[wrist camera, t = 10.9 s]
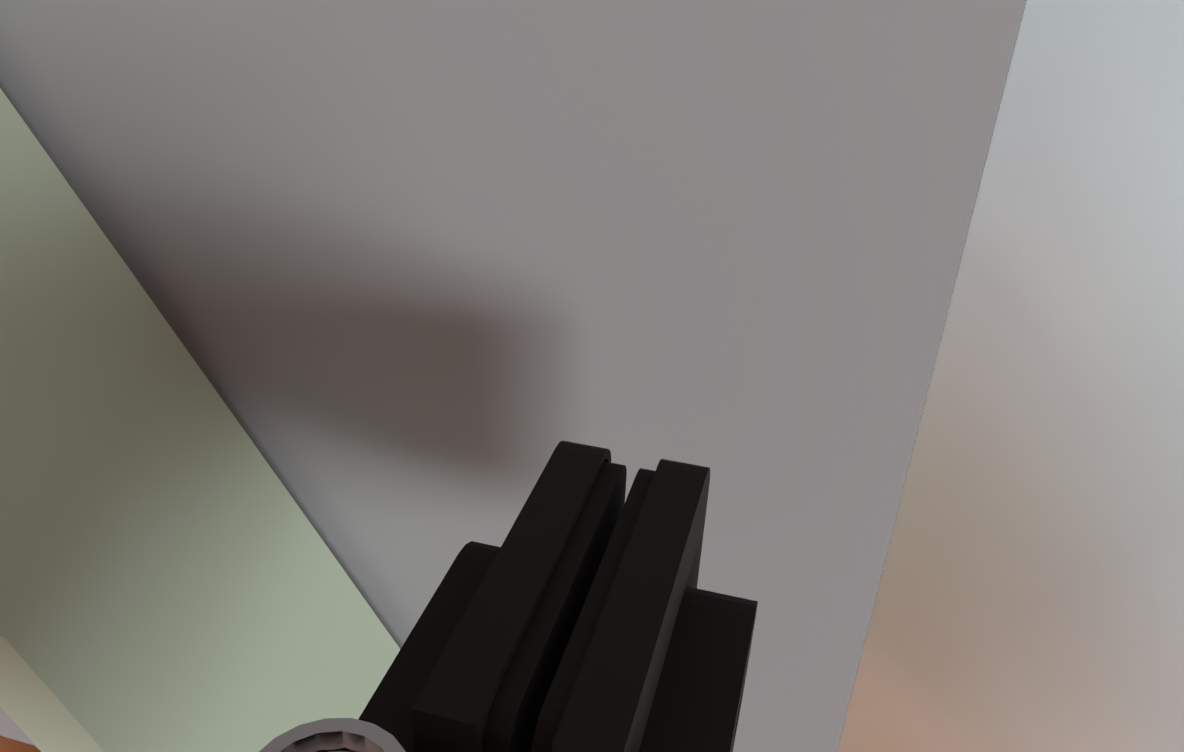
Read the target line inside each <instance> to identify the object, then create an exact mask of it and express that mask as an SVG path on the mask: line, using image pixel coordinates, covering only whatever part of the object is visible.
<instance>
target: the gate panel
mask: <svg viewBox="0 0 1184 752" xmlns="http://www.w3.org/2000/svg"><path fill="white" fill-rule="evenodd" d="M399 651H400V648H399V647H398V645H397V644H396V642H395V641H394V640H393V638H392V637H391V635H390V634H389V633H388V631H387V630H386V628H385V627H384V626H383V624H382V623H381V621H380V620H379V619H378V617H377V616H376V614H375V613H374V612H373V610H372V609H371V607H370V606H369V605H368V603H367V602H366V600H365V599H364V598H363V596H362V595H361V593H360V592H359V591H358V589H357V588H356V586H355V585H354V583H353V582H352V581H351V579H350V578H349V576H348V575H347V574H346V572H345V571H344V569H343V568H342V567H341V565H340V564H339V562H338V561H337V560H336V558H335V557H334V555H333V554H332V553H331V551H330V550H329V548H328V547H327V546H326V544H325V543H324V541H323V540H322V539H321V537H320V536H319V534H318V533H317V532H316V530H315V529H314V527H313V526H312V525H311V523H310V522H309V520H308V519H307V518H306V516H305V515H304V513H303V512H302V511H301V509H300V508H299V506H298V505H297V504H296V502H295V501H294V499H293V498H292V497H291V495H290V494H289V492H288V491H287V490H286V488H285V487H284V485H283V484H282V482H281V481H280V480H279V478H278V477H277V475H276V474H275V473H274V471H273V470H272V468H271V467H270V466H269V464H268V463H267V461H266V460H265V459H264V457H263V456H262V454H261V453H260V452H259V450H258V449H257V447H256V446H255V445H254V443H253V442H252V440H251V439H250V438H249V436H248V435H247V433H246V432H245V431H244V429H243V428H242V426H241V425H240V424H239V422H238V421H237V419H236V418H235V417H234V415H233V414H232V412H231V411H230V410H229V408H228V407H227V405H226V404H225V403H224V401H223V400H222V398H221V397H220V396H219V394H218V393H217V391H216V390H215V389H214V387H213V386H212V384H211V383H210V381H209V380H208V379H207V377H206V376H205V374H204V373H203V372H202V370H201V369H200V367H199V366H198V365H197V363H196V362H195V360H194V359H193V358H192V356H191V355H190V353H189V352H188V351H187V349H186V348H185V346H184V345H183V344H182V342H181V341H180V339H179V338H178V337H177V335H176V334H175V332H174V331H173V330H172V328H171V327H170V325H169V324H168V323H167V321H166V320H165V318H164V317H163V316H162V314H161V313H160V311H159V310H158V309H157V307H156V306H155V304H154V303H153V302H152V300H151V299H150V297H149V296H148V295H147V293H146V292H145V290H144V289H143V288H142V286H141V285H140V283H139V282H138V280H137V279H136V278H135V276H134V275H133V273H132V272H131V271H130V269H129V268H128V266H127V265H126V264H125V262H124V261H123V259H122V258H121V257H120V255H119V254H118V252H117V251H116V250H115V248H114V247H113V245H112V244H111V243H110V241H109V240H108V238H107V237H106V236H105V234H104V233H103V231H102V230H101V229H100V227H99V226H98V224H97V223H96V222H95V220H94V219H93V217H92V216H91V215H90V213H89V212H88V210H87V209H86V208H85V206H84V205H83V203H82V202H81V201H80V199H79V198H78V196H77V195H76V194H75V192H74V191H73V189H72V188H71V187H70V185H69V184H68V182H67V181H66V179H65V178H64V177H63V175H62V174H61V172H60V171H59V170H58V168H57V167H56V165H55V164H54V163H53V161H52V160H51V158H50V157H49V156H48V154H47V153H46V151H45V150H44V149H43V147H42V146H41V144H40V143H39V142H38V140H37V139H36V137H35V136H34V135H33V133H32V132H31V130H30V129H29V128H28V126H27V125H26V123H25V122H24V121H23V119H22V118H21V116H20V115H19V114H18V112H17V111H16V109H15V108H14V107H13V105H12V104H11V102H10V101H9V100H8V98H7V97H6V95H5V94H4V93H3V91H2V90H1V88H0V707H1V708H2V709H3V710H4V711H5V712H6V714H7V715H8V716H9V717H10V718H11V719H12V720H13V721H14V722H15V724H16V725H17V726H18V727H19V728H20V729H21V730H22V731H23V732H24V733H25V735H26V736H27V737H28V738H29V739H30V740H31V741H32V742H33V743H34V744H35V746H36V747H37V748H38V749H39V750H40V751H41V752H259V751H260V750H261V749H262V748H264V747H265V746H266V745H267V744H268V743H269V742H271V741H272V740H273V739H274V738H275V737H277V736H279V735H281V734H283V733H285V732H287V731H289V730H291V729H293V728H295V727H297V726H298V725H301V724H305V723H309V722H313V721H317V720H321V719H325V718H353V719H357V720H358V719H359V717H360V716H361V714H362V712H363V711H364V709H365V707H366V706H367V704H368V702H369V701H370V699H371V697H372V696H373V694H374V692H375V691H376V689H377V687H378V686H379V684H380V682H381V681H382V679H383V677H384V676H385V674H386V672H387V671H388V669H389V668H390V666H391V664H392V663H393V661H394V659H395V658H396V656H397V654H398V653H399Z"/></svg>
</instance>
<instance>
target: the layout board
mask: <svg viewBox="0 0 1184 752" xmlns="http://www.w3.org/2000/svg"><path fill="white" fill-rule="evenodd" d="M1026 1H1027V0H0V88H1V90H2V91H3V93H4V94H5V95H6V97H7V98H8V100H9V101H10V102H11V104H12V105H13V107H14V108H15V109H16V111H17V112H18V114H19V115H20V116H21V118H22V119H23V121H24V122H25V123H26V125H27V126H28V128H29V129H30V130H31V132H32V133H33V135H34V136H35V137H36V139H37V140H38V142H39V143H40V144H41V146H42V147H43V149H44V150H45V151H46V153H47V154H48V156H49V157H50V158H51V160H52V161H53V163H54V164H55V165H56V167H57V168H58V170H59V171H60V172H61V174H62V175H63V177H64V178H65V179H66V181H67V182H68V184H69V185H70V187H71V188H72V189H73V191H74V192H75V194H76V195H77V196H78V198H79V199H80V201H81V202H82V203H83V205H84V206H85V208H86V209H87V210H88V212H89V213H90V215H91V216H92V217H93V219H94V220H95V222H96V223H97V224H98V226H99V227H100V229H101V230H102V231H103V233H104V234H105V236H106V237H107V238H108V240H109V241H110V243H111V244H112V245H113V247H114V248H115V250H116V251H117V252H118V254H119V255H120V257H121V258H122V259H123V261H124V262H125V264H126V265H127V266H128V268H129V269H130V271H131V272H132V273H133V275H134V276H135V278H136V279H137V280H138V282H139V283H140V285H141V286H142V288H143V289H144V290H145V292H146V293H147V295H148V296H149V297H150V299H151V300H152V302H153V303H154V304H155V306H156V307H157V309H158V310H159V311H160V313H161V314H162V316H163V317H164V318H165V320H166V321H167V323H168V324H169V325H170V327H171V328H172V330H173V331H174V332H175V334H176V335H177V337H178V338H179V339H180V341H181V342H182V344H183V345H184V346H185V348H186V349H187V351H188V352H189V353H190V355H191V356H192V358H193V359H194V360H195V362H196V363H197V365H198V366H199V367H200V369H201V370H202V372H203V373H204V374H205V376H206V377H207V379H208V380H209V381H210V383H211V384H212V386H213V387H214V389H215V390H216V391H217V393H218V394H219V396H220V397H221V398H222V400H223V401H224V403H225V404H226V405H227V407H228V408H229V410H230V411H231V412H232V414H233V415H234V417H235V418H236V419H237V421H238V422H239V424H240V425H241V426H242V428H243V429H244V431H245V432H246V433H247V435H248V436H249V438H250V439H251V440H252V442H253V443H254V445H255V446H256V447H257V449H258V450H259V452H260V453H261V454H262V456H263V457H264V459H265V460H266V461H267V463H268V464H269V466H270V467H271V468H272V470H273V471H274V473H275V474H276V475H277V477H278V478H279V480H280V481H281V482H282V484H283V485H284V487H285V488H286V490H287V491H288V492H289V494H290V495H291V497H292V498H293V499H294V501H295V502H296V504H297V505H298V506H299V508H300V509H301V511H302V512H303V513H304V515H305V516H306V518H307V519H308V520H309V522H310V523H311V525H312V526H313V527H314V529H315V530H316V532H317V533H318V534H319V536H320V537H321V539H322V540H323V541H324V543H325V544H326V546H327V547H328V548H329V550H330V551H331V553H332V554H333V555H334V557H335V558H336V560H337V561H338V562H339V564H340V565H341V567H342V568H343V569H344V571H345V572H346V574H347V575H348V576H349V578H350V579H351V581H352V582H353V583H354V585H355V586H356V588H357V589H358V591H359V592H360V593H361V595H362V596H363V598H364V599H365V600H366V602H367V603H368V605H369V606H370V607H371V609H372V610H373V612H374V613H375V614H376V616H377V617H378V619H379V620H380V621H381V623H382V624H383V626H384V627H385V628H386V630H387V631H388V633H389V634H390V635H391V637H392V638H393V640H394V641H395V642H396V644H397V645H398V647H399V648H400V649H401V648H402V646H403V644H404V643H405V641H406V639H407V638H408V636H409V634H410V633H411V631H412V629H413V628H414V626H415V625H416V623H417V621H418V620H419V618H420V616H421V615H422V613H423V611H424V610H425V608H426V606H427V605H428V603H429V601H430V600H431V598H432V596H433V595H434V593H435V591H436V590H437V588H438V586H439V585H440V583H441V581H442V580H443V578H444V577H445V575H446V573H447V572H448V570H449V568H450V567H451V565H452V563H453V562H454V560H455V558H456V557H457V555H458V553H459V552H460V551H461V549H462V548H463V547H464V546H465V544H467V543H469V542H471V541H474V542H479V543H483V544H488V545H493V546H497V547H501V546H502V544H503V542H504V541H505V539H506V537H507V535H508V533H509V531H510V530H511V528H512V526H513V524H514V522H515V521H516V519H517V517H518V515H519V513H520V512H521V510H522V508H523V506H524V504H525V502H526V501H527V499H528V497H529V495H530V493H531V492H532V490H533V488H534V486H535V484H536V483H537V481H538V479H539V477H540V475H541V473H542V472H543V470H544V468H545V466H546V464H547V463H548V461H549V459H550V457H551V455H552V453H553V452H554V450H555V448H556V446H557V445H558V443H559V442H560V441H568V442H574V443H579V444H585V445H590V446H595V447H601V448H606V449H609V450H610V451H611V463H616V464H621V465H625V466H626V470H627V477H626V492H625V501H626V499H627V496H628V494H629V491H630V489H631V486H632V484H633V482H634V479H635V477H636V474H637V472H638V470H639V469H640V468H643V469H648V470H653V471H656V468H657V466H658V463H659V461H660V460H661V459H666V460H671V461H677V462H682V463H688V464H693V465H698V466H704V467H709V468H710V483H709V492H708V500H707V508H706V517H705V525H704V533H703V542H702V550H701V558H700V567H699V575H698V583H697V589H702V590H706V591H711V592H716V593H721V594H725V595H730V596H735V597H740V598H744V599H749V600H754V601H758V605H757V612H756V618H755V624H754V631H753V637H752V643H751V649H750V655H749V661H748V667H747V673H746V679H745V685H744V691H743V697H742V703H741V708H740V714H739V720H738V725H737V731H736V736H735V742H734V747H733V752H837V750H838V746H839V742H840V738H841V734H842V730H843V726H844V722H845V718H846V714H847V710H848V706H849V702H850V698H851V694H852V690H853V687H854V683H855V679H856V675H857V671H858V667H859V663H860V659H861V655H862V651H863V647H864V643H865V639H866V635H867V631H868V627H869V623H870V619H871V615H872V611H873V607H874V603H875V599H876V595H877V591H878V587H879V583H880V579H881V576H882V572H883V568H884V564H885V560H886V556H887V552H888V548H889V544H890V540H891V536H892V532H893V528H894V524H895V520H896V516H897V512H898V508H899V504H900V500H901V496H902V492H903V488H904V484H905V480H906V476H907V472H908V468H909V465H910V461H911V457H912V453H913V449H914V445H915V441H916V437H917V433H918V429H919V425H920V421H921V417H922V413H923V409H924V405H925V401H926V397H927V393H928V389H929V385H930V381H931V377H932V373H933V369H934V365H935V361H936V357H937V354H938V350H939V346H940V342H941V338H942V334H943V330H944V326H945V322H946V318H947V314H948V310H949V306H950V302H951V298H952V294H953V290H954V286H955V282H956V278H957V274H958V270H959V266H960V262H961V258H962V254H963V250H964V246H965V243H966V239H967V235H968V231H969V227H970V223H971V219H972V215H973V211H974V207H975V203H976V199H977V195H978V191H979V187H980V183H981V179H982V175H983V171H984V167H985V163H986V159H987V155H988V151H989V147H990V143H991V139H992V135H993V132H994V128H995V124H996V120H997V116H998V112H999V108H1000V104H1001V100H1002V96H1003V92H1004V88H1005V84H1006V80H1007V76H1008V72H1009V68H1010V64H1011V60H1012V56H1013V52H1014V48H1015V44H1016V40H1017V36H1018V32H1019V28H1020V24H1021V21H1022V17H1023V13H1024V9H1025V5H1026ZM0 735H1V736H4V737H8V738H11V739H14V740H18V741H21V742H25V743H28V744H31V745H35V744H34V743H33V742H32V741H31V740H30V739H29V738H28V737H27V736H26V735H25V733H24V732H23V731H22V730H21V729H20V728H19V727H18V726H17V725H16V724H15V722H14V721H13V720H12V719H11V718H10V717H9V716H8V715H7V714H6V712H5V711H4V710H3V709H2V708H1V707H0Z"/></svg>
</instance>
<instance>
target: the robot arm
mask: <svg viewBox="0 0 1184 752" xmlns="http://www.w3.org/2000/svg"><path fill="white" fill-rule="evenodd" d="M626 477H627V470H626V466H625V465H621V464H616V463H611V451H610V450H609V449H606V448H601V447H595V446H590V445H585V444H579V443H574V442H568V441H560V442H559V443H558V445H557V446H556V448H555V450H554V452H553V453H552V455H551V457H550V459H549V461H548V463H547V464H546V466H545V468H544V470H543V472H542V473H541V475H540V477H539V479H538V481H537V483H536V484H535V486H534V488H533V490H532V492H531V493H530V495H529V497H528V499H527V501H526V502H525V504H524V506H523V508H522V510H521V512H520V513H519V515H518V517H517V519H516V521H515V522H514V524H513V526H512V528H511V530H510V531H509V533H508V535H507V537H506V539H505V541H504V542H503V544H502V546H501V547H497V546H493V545H488V544H483V543H479V542H474V541H471V542H469V543H467V544H465V546H464V547H463V548H462V549H461V551H460V552H459V553H458V555H457V557H456V558H455V560H454V562H453V563H452V565H451V567H450V568H449V570H448V572H447V573H446V575H445V577H444V578H443V580H442V581H441V583H440V585H439V586H438V588H437V590H436V591H435V593H434V595H433V596H432V598H431V600H430V601H429V603H428V605H427V606H426V608H425V610H424V611H423V613H422V615H421V616H420V618H419V620H418V621H417V623H416V625H415V626H414V628H413V629H412V631H411V633H410V634H409V636H408V638H407V639H406V641H405V643H404V644H403V646H402V648H401V649H400V651H399V653H398V654H397V656H396V658H395V659H394V661H393V663H392V664H391V666H390V668H389V669H388V671H387V672H386V674H385V676H384V677H383V679H382V681H381V682H380V684H379V686H378V687H377V689H376V691H375V692H374V694H373V696H372V697H371V699H370V701H369V702H368V704H367V706H366V707H365V709H364V711H363V712H362V714H361V716H360V717H359V719H358V720H357V719H353V718H325V719H321V720H317V721H313V722H309V723H305V724H301V725H298V726H297V727H295V728H293V729H291V730H289V731H287V732H285V733H283V734H281V735H279V736H277V737H275V738H274V739H273V740H272V741H271V742H269V743H268V744H267V745H266V746H265V747H264V748H262V749H261V750H260V751H259V752H733V747H734V742H735V736H736V731H737V725H738V720H739V714H740V708H741V703H742V697H743V691H744V685H745V679H746V673H747V667H748V661H749V655H750V649H751V643H752V637H753V631H754V624H755V618H756V612H757V605H758V601H754V600H749V599H744V598H740V597H735V596H730V595H725V594H721V593H716V592H711V591H706V590H702V589H697V583H698V575H699V567H700V558H701V550H702V542H703V533H704V525H705V517H706V508H707V500H708V492H709V483H710V468H709V467H704V466H698V465H693V464H688V463H682V462H677V461H671V460H666V459H661V460H660V461H659V463H658V466H657V468H656V471H653V470H648V469H643V468H640V469H639V470H638V472H637V474H636V477H635V479H634V482H633V484H632V486H631V489H630V491H629V494H628V496H627V499H626V501H625V492H626Z"/></svg>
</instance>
